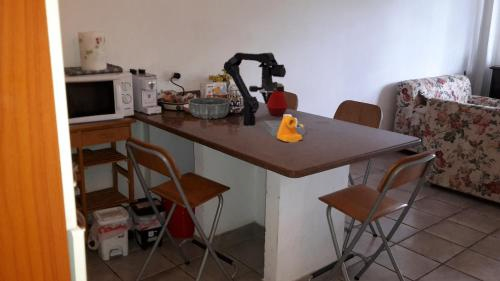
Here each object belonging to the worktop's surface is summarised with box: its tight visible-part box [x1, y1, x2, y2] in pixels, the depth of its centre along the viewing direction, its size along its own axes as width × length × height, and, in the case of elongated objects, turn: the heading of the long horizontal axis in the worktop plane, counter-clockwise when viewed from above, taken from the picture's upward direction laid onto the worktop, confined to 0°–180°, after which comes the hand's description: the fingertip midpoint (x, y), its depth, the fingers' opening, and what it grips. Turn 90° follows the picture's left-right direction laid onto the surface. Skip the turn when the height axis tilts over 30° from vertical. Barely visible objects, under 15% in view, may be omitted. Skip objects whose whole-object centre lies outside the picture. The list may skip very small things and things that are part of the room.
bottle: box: [266, 82, 289, 118], centre depth 290 cm, size 16×14×20 cm
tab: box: [282, 113, 293, 119], centre depth 253 cm, size 4×3×6 cm
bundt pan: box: [187, 96, 232, 120], centre depth 282 cm, size 26×26×10 cm
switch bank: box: [263, 120, 306, 137], centre depth 249 cm, size 18×18×5 cm
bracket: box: [276, 116, 303, 143], centre depth 229 cm, size 11×7×12 cm, turn 119°
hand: (266, 104), depth 255 cm, fingers closed
